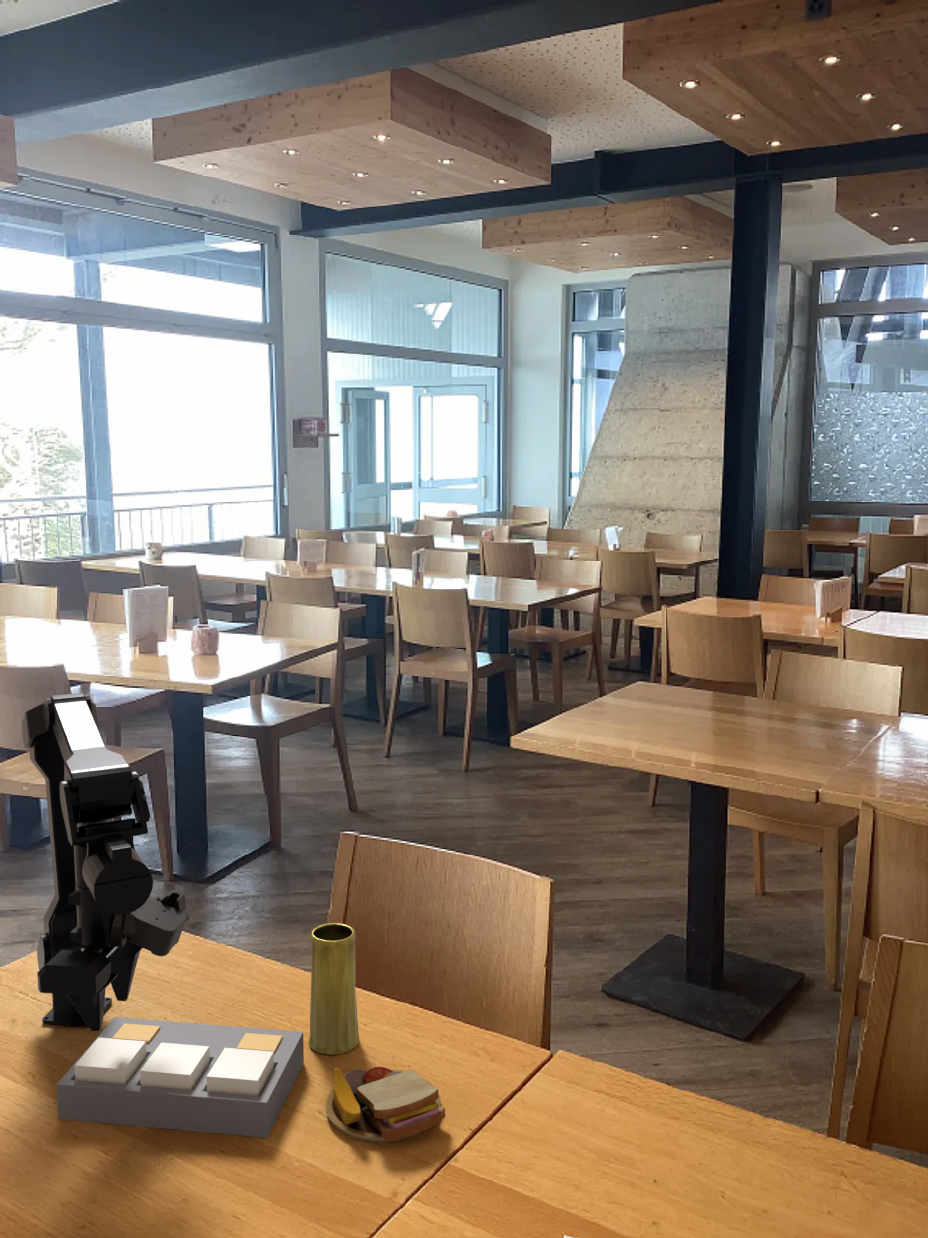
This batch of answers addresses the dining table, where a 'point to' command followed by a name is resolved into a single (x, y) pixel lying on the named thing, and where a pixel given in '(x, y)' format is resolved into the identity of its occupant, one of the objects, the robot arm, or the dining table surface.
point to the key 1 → (111, 1061)
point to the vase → (333, 990)
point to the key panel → (187, 1105)
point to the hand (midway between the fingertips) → (109, 1015)
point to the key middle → (175, 1066)
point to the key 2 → (241, 1072)
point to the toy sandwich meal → (383, 1104)
